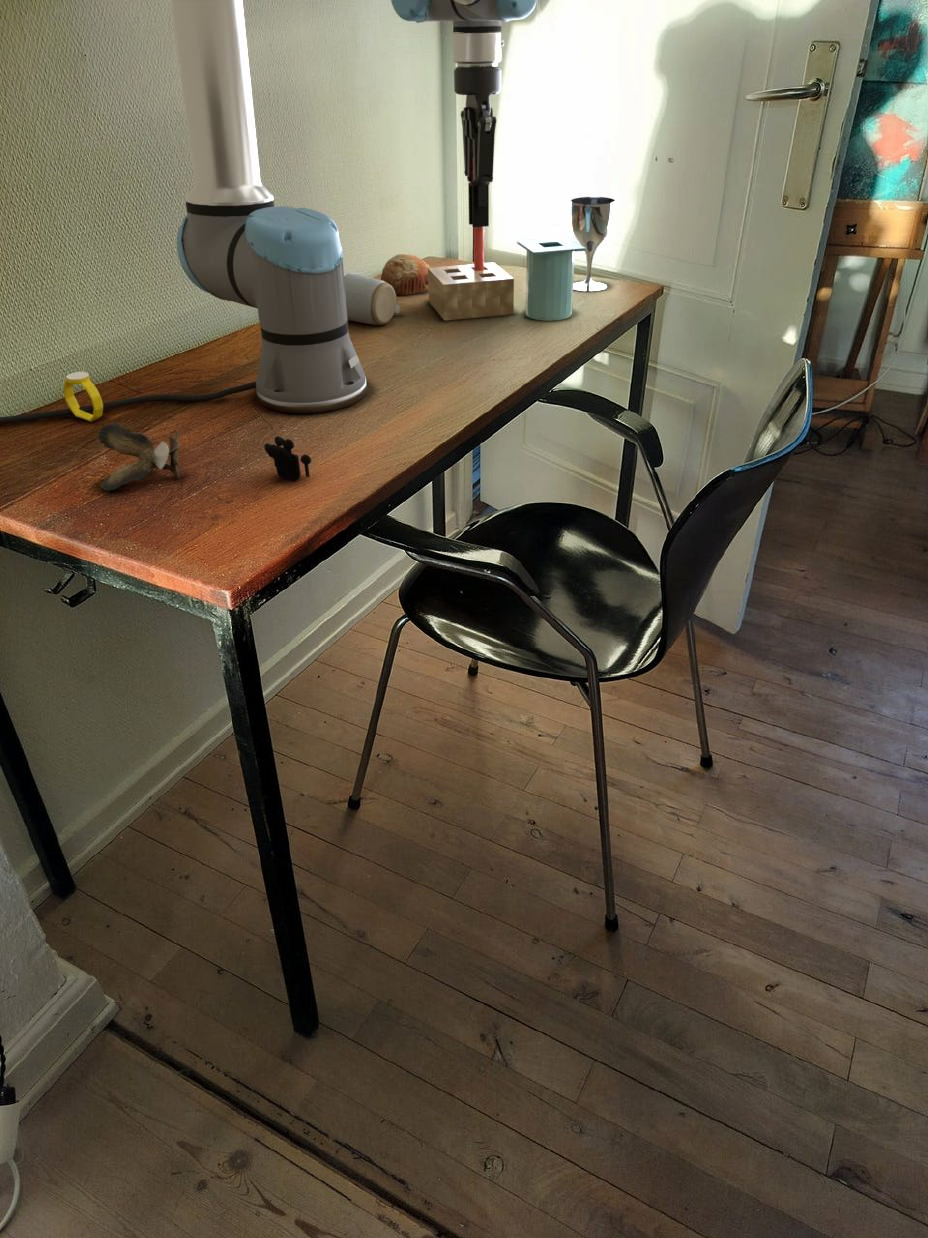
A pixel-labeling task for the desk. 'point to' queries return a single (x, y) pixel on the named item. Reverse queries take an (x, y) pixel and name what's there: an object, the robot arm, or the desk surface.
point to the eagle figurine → (137, 454)
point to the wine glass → (591, 231)
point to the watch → (91, 390)
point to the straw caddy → (470, 291)
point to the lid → (563, 243)
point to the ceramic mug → (369, 300)
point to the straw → (478, 246)
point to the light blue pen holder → (549, 285)
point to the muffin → (406, 274)
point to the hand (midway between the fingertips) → (478, 224)
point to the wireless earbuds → (287, 459)
